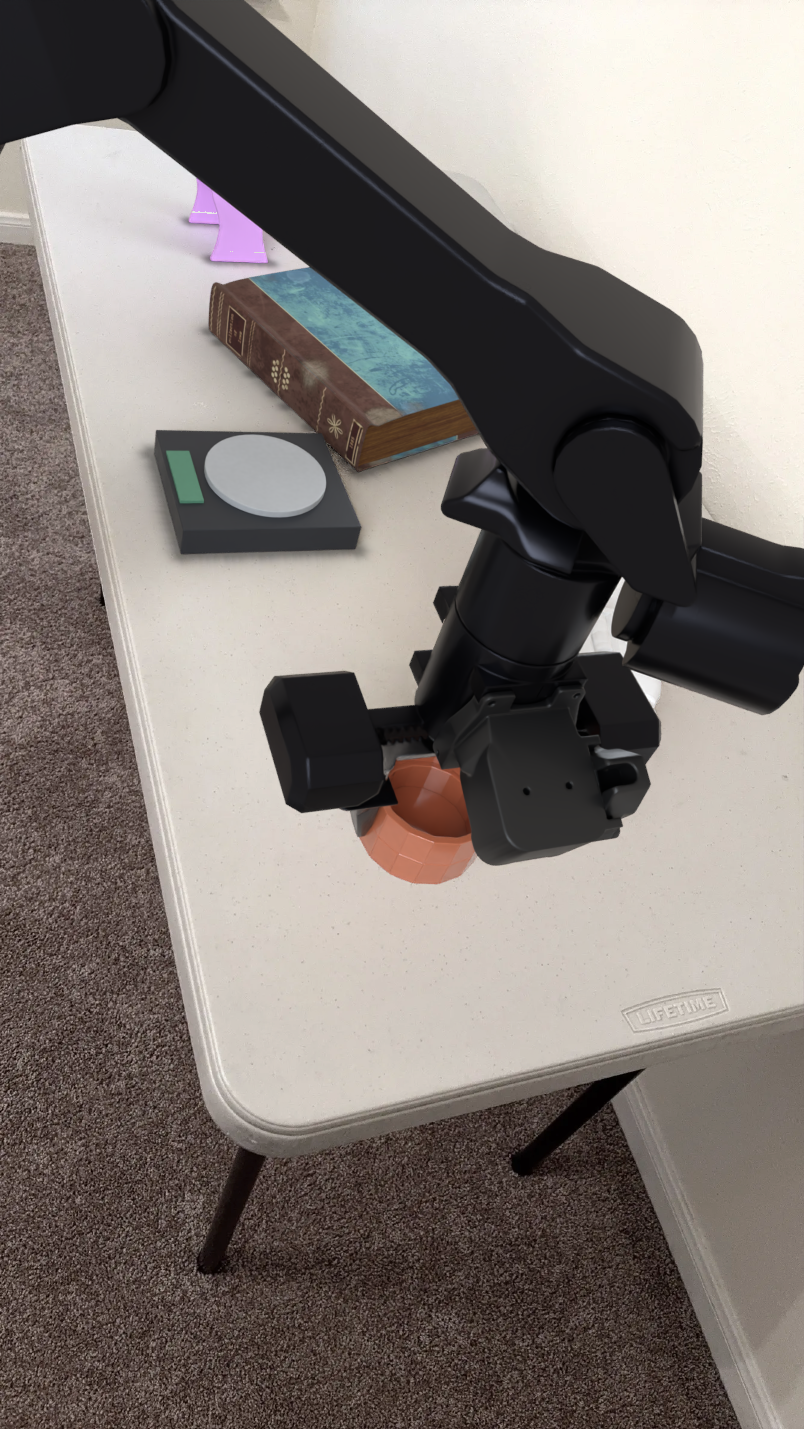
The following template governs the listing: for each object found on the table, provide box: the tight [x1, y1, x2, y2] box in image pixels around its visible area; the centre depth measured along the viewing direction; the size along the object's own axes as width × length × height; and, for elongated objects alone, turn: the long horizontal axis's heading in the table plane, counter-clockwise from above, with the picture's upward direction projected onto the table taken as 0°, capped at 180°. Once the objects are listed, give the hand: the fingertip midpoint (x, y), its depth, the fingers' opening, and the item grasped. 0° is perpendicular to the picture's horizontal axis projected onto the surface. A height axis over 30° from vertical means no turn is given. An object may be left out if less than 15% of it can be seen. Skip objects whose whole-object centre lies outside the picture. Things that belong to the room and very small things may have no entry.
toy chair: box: [188, 177, 269, 264], centre depth 100 cm, size 8×9×15 cm
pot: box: [358, 757, 478, 885], centre depth 51 cm, size 7×7×4 cm
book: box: [207, 266, 479, 473], centre depth 92 cm, size 23×18×5 cm
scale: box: [153, 429, 363, 555], centre depth 78 cm, size 14×12×3 cm
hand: (421, 820), depth 52 cm, fingers closed on pot, 7 cm apart
